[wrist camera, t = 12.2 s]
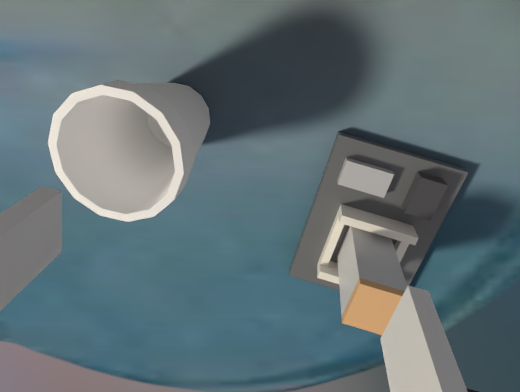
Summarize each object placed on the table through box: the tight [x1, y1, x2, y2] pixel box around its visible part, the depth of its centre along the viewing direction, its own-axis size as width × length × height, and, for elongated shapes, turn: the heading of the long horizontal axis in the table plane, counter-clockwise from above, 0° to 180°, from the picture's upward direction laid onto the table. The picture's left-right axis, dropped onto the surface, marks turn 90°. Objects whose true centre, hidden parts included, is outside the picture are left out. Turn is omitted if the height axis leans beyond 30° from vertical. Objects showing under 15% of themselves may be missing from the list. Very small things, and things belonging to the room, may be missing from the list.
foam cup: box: [48, 80, 210, 222], centre depth 32 cm, size 10×9×13 cm
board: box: [289, 131, 468, 291], centre depth 38 cm, size 16×12×4 cm
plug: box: [337, 226, 407, 335], centre depth 35 cm, size 4×4×10 cm
